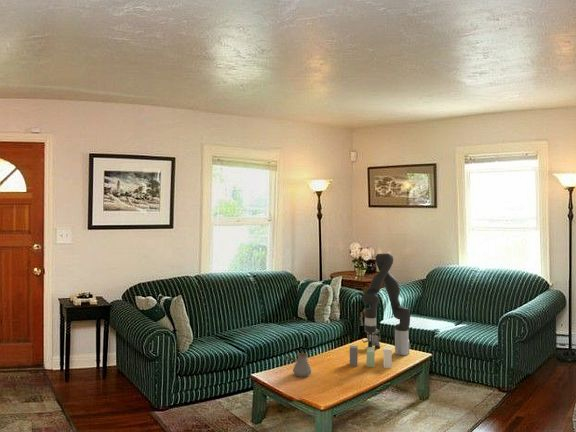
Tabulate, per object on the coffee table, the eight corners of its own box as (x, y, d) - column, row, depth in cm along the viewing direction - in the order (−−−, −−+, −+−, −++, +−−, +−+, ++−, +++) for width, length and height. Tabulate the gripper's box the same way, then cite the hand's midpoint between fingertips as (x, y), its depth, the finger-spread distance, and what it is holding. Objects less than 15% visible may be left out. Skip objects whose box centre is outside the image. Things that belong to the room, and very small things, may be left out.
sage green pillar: (366, 361, 334) (366, 346, 329) (374, 362, 333) (374, 347, 328) (366, 366, 329) (366, 351, 324) (374, 367, 328) (374, 352, 324)
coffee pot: (300, 370, 322) (300, 347, 321) (315, 374, 314) (315, 350, 313) (278, 379, 305) (278, 355, 305) (293, 384, 298) (293, 359, 297)
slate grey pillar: (349, 363, 336) (350, 345, 335) (357, 363, 335) (357, 345, 334) (349, 365, 331) (349, 347, 330) (357, 366, 330) (357, 348, 330)
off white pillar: (383, 365, 332) (383, 347, 332) (391, 365, 332) (391, 347, 331) (383, 367, 327) (383, 349, 327) (391, 368, 327) (391, 349, 326)
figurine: (370, 345, 376) (370, 325, 376) (381, 349, 367) (381, 328, 366) (361, 347, 371) (361, 327, 370) (373, 351, 362) (373, 330, 361)
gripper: (364, 321, 337) (364, 346, 338) (364, 326, 324) (364, 352, 325) (376, 321, 336) (375, 347, 337) (376, 326, 323) (375, 353, 324)
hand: (370, 350), depth 331 cm, fingers closed
